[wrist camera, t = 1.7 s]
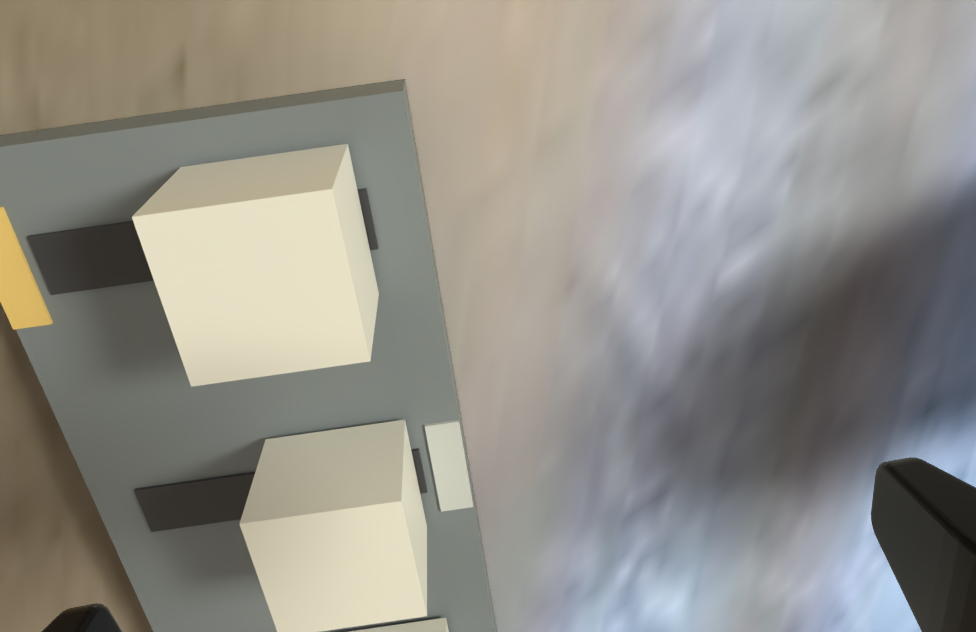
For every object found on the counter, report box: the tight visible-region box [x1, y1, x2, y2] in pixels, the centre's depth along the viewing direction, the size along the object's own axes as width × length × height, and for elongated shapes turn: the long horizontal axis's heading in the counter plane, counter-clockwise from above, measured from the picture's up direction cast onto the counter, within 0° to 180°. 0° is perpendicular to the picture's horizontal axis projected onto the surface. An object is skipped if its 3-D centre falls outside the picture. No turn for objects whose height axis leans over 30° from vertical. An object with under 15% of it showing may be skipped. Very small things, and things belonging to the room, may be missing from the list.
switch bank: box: [0, 79, 497, 632], centre depth 24 cm, size 11×22×2 cm, turn 7°
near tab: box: [132, 144, 379, 387], centre depth 18 cm, size 4×4×4 cm
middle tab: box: [240, 420, 427, 632], centre depth 22 cm, size 4×4×4 cm
